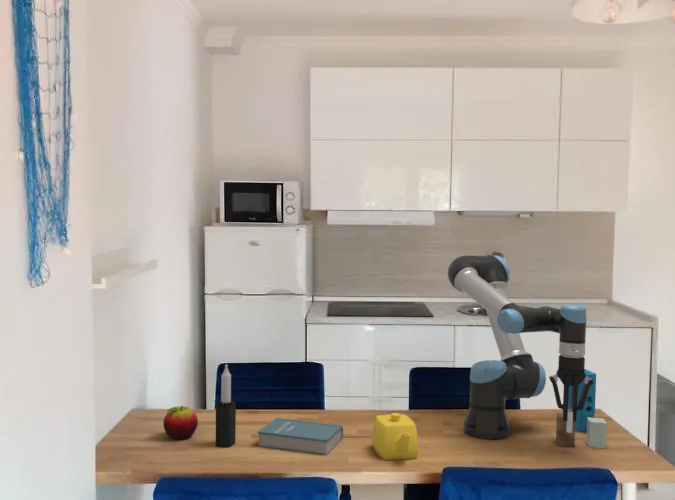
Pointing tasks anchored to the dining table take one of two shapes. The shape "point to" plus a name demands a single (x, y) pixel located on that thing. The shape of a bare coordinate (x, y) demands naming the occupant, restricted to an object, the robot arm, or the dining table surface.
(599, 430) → the sage pillar
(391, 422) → the teapot
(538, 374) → the robot arm
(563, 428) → the walnut pillar
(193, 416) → the fruit
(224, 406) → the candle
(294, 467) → the dining table surface
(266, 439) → the book
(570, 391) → the block
